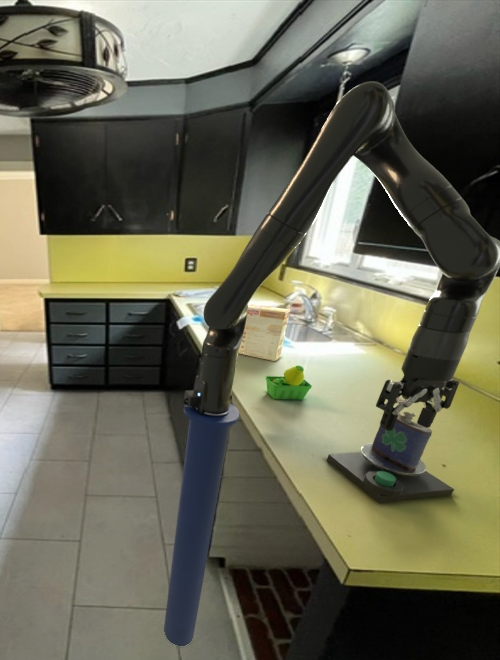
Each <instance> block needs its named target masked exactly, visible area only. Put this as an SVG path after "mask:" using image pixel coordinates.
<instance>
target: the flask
mask: <svg viewBox="0 0 500 660" xmlns="http://www.w3.org/2000/svg"><path fill="white" fill-rule="evenodd" d="M397 415H398V417H397V420H396V423H395V425H394V428H393V430H391V431H387V430H385V429H384V428H382V427H381V426H380V425H379V427H378V430H377V431H376V434H375V437H374V440H373V442H372V443H373V444H372V443H371V444H372V448H373V449H374V450H375V451H377V452H378V453H380V454H381V455H382V456H384V457H386V458H388V459H389V460H391V461H393V462H395V463H397V464H399V465H400V466H402V467H405V468H407V469H409V470H414V469H416V468H417V466H418V463H419V461H420V460H421V458H422V456H423V454H424V452H425V449H426V446H427V445H428V442H429V440H430V438H431V436H432V435H433V434H432V433H433V429H431V428H430V427H429V428H426V427H424V426H421V425H419V424H417V422H414V421H413V418H414V417H416V414H415V413H414V412H411V413H410V412H408V411H404V412H403V414H401V413H400V412H399V413H398V414H397ZM413 468H414V469H413Z"/></svg>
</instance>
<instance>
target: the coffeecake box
mask: <svg viewBox="0 0 500 660" xmlns="http://www.w3.org/2000/svg"><path fill="white" fill-rule="evenodd" d="M290 313H291V309H289V308H281V307H280V308H279V307H273V306H264V305H256V304H250V305H248V313H247V319H246V324H245V329H244V334H243V339H242V342H241V345H240V348H239V352H238V355H243V356H244V355H245V356H249V357H253V358H259V359H263V360H268V361H272V362H276V361H278V360H279V359H280V358H281V355H282V351H283V346H284V341H285V336H286V331H287V327H288V323H289V318H290ZM243 352H244V353H243Z"/></svg>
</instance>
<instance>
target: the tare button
mask: <svg viewBox="0 0 500 660" xmlns="http://www.w3.org/2000/svg"><path fill="white" fill-rule="evenodd" d="M374 480H375V481H376V482H377V483H379V484H381V485H383V486H387V487H393V485H394V483H395V480H396V478H395V477H394V476H393V475H392V474H390V473H387V472H383V471H379V472H377V474H376V476H375V479H374Z"/></svg>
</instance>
